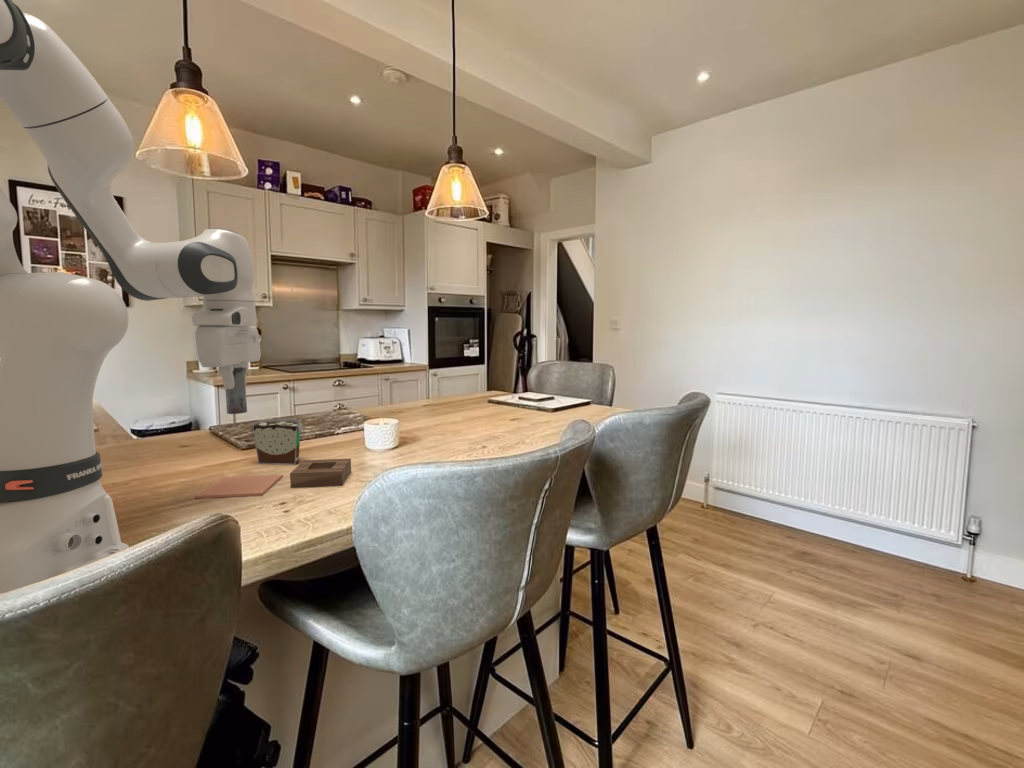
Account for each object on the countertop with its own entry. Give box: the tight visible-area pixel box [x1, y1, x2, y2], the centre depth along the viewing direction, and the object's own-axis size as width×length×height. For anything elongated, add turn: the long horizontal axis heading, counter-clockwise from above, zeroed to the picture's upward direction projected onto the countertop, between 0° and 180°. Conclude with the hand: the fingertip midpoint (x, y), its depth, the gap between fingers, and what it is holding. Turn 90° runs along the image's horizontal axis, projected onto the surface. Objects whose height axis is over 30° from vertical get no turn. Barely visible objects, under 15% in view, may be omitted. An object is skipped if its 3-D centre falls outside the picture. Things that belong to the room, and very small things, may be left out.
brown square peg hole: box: [289, 458, 352, 489], centre depth 104 cm, size 10×10×3 cm
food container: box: [250, 418, 304, 466], centre depth 118 cm, size 12×6×10 cm, turn 84°
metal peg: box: [224, 362, 248, 415], centre depth 96 cm, size 4×4×10 cm
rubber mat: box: [194, 474, 284, 500], centre depth 99 cm, size 12×12×1 cm
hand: (235, 387), depth 96 cm, fingers closed on metal peg, 3 cm apart
